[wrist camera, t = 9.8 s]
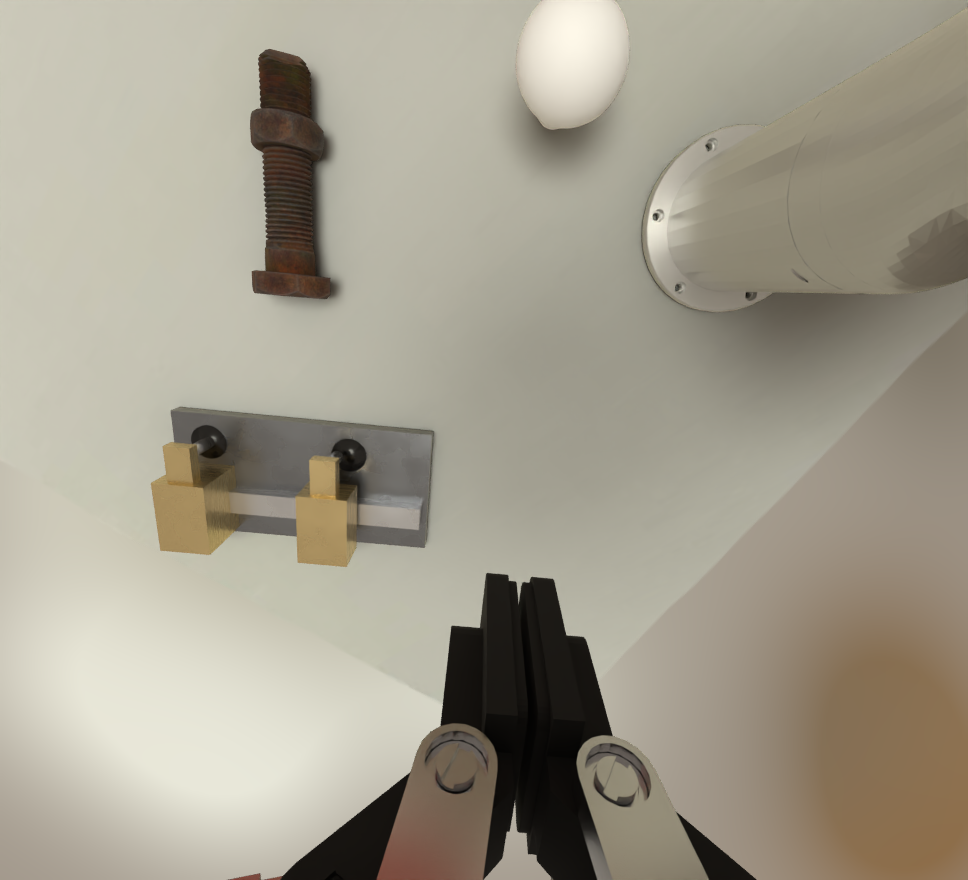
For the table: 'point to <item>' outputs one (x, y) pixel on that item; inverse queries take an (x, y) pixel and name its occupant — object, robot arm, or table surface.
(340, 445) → the hole plate
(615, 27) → the lightbulb
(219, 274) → the table surface
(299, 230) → the bolt
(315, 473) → the block
